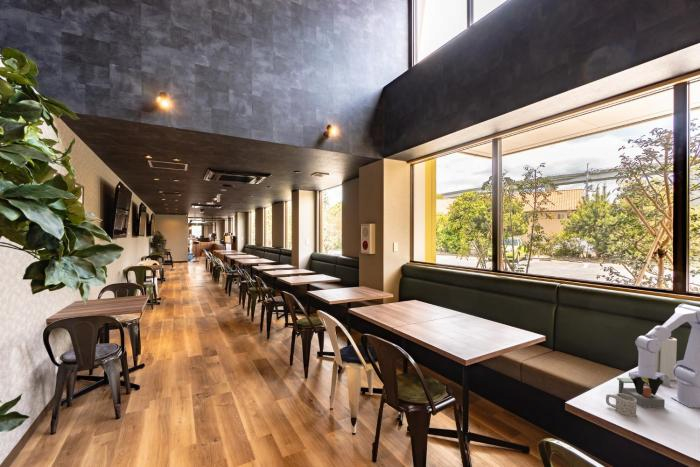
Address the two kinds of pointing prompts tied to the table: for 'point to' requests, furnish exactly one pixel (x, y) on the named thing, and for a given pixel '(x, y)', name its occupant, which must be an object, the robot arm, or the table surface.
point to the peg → (646, 392)
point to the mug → (623, 404)
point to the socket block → (641, 401)
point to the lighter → (665, 380)
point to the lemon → (645, 380)
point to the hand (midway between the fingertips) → (645, 393)
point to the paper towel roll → (667, 357)
